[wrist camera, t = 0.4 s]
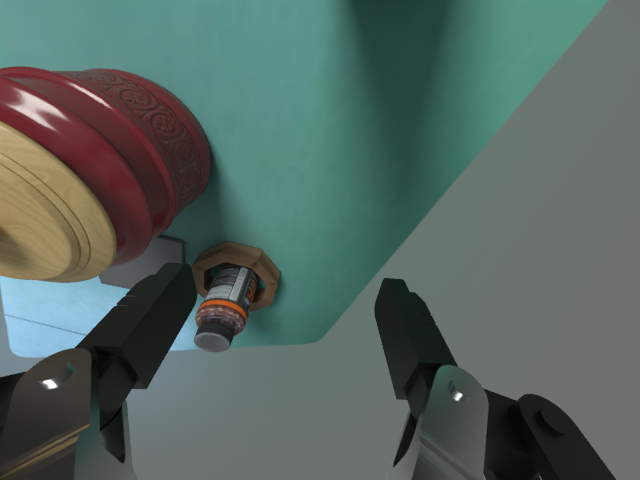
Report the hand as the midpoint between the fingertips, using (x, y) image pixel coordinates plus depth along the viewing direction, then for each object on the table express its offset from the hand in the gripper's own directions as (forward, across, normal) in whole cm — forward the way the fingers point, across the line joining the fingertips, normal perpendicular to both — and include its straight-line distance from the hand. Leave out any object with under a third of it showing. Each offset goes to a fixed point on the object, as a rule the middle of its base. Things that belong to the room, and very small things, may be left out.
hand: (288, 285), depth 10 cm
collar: (+20, +9, +17) cm, 28 cm away
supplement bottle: (+20, +9, +17) cm, 28 cm away
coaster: (+20, +23, +16) cm, 34 cm away
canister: (+19, +16, -1) cm, 25 cm away
